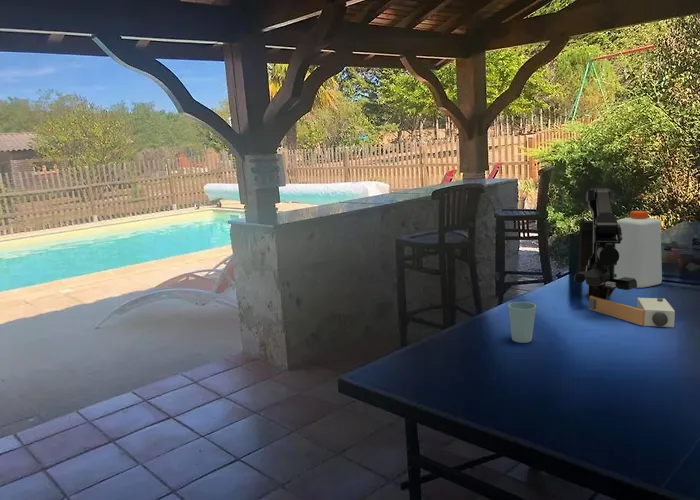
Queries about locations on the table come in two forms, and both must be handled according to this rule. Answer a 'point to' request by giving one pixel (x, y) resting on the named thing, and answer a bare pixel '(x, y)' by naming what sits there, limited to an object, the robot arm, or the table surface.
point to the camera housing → (656, 312)
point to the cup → (522, 321)
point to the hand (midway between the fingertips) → (604, 305)
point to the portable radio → (585, 244)
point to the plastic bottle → (640, 249)
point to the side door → (617, 310)
